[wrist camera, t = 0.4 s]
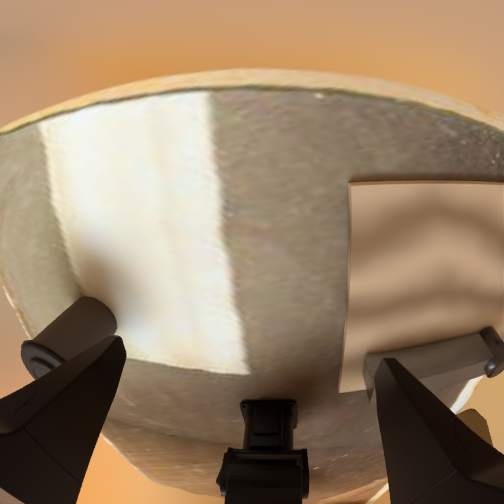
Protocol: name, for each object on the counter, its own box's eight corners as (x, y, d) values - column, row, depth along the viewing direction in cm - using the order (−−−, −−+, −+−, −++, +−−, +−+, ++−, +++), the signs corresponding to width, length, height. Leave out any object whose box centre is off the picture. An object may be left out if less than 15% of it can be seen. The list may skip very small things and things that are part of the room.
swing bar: (498, 323, 22) (517, 349, 19) (488, 347, 24) (504, 372, 20) (366, 351, 24) (376, 387, 21) (361, 376, 26) (369, 410, 22)
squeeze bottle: (472, 399, 31) (505, 489, 15) (484, 408, 33) (513, 485, 16) (433, 427, 34) (456, 516, 18) (450, 433, 36) (471, 510, 20)
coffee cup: (123, 355, 30) (88, 423, 21) (65, 324, 29) (22, 382, 20) (134, 307, 26) (87, 384, 17) (67, 271, 25) (7, 332, 16)
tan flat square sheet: (491, 352, 26) (494, 357, 25) (337, 386, 29) (339, 392, 28) (539, 185, 17) (545, 187, 16) (347, 182, 20) (351, 185, 19)
